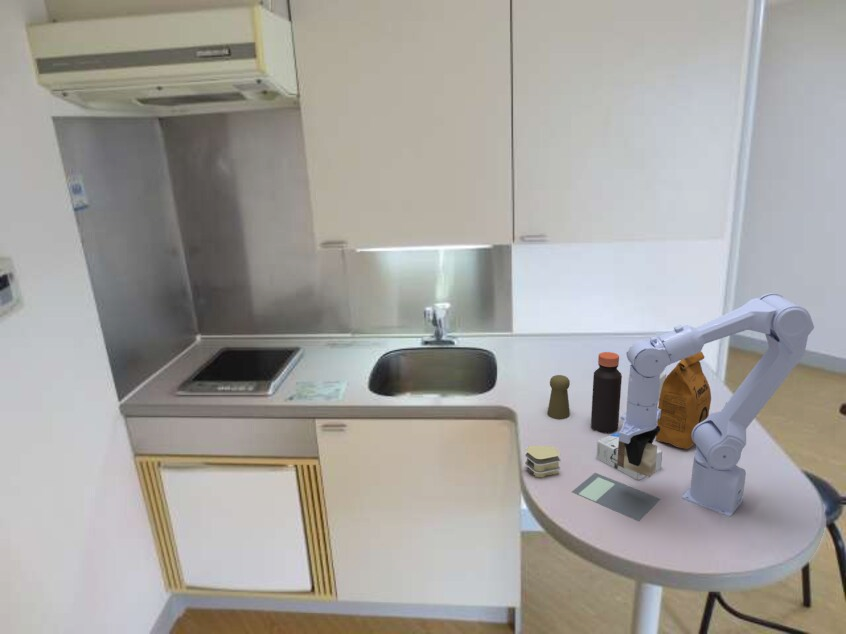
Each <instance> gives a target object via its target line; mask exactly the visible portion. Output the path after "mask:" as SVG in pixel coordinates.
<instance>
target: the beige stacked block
mask: <svg viewBox="0 0 846 634" xmlns="http://www.w3.org/2000/svg"><path fill="white" fill-rule="evenodd" d="M525 451H526V454H525V455H524V456H525V458H526V461H525V463H524V464H525V466H526V467H528V468H529V469H530V470H531V471H532V472H533V476H534V475H535V476H534V477H536V476H537V477H536V478H538V477H542V478H544V477H545V476H552V474H553V475H558V474H559V470H561V467H560V465H559V464H560V463H559V462H561V461H562V460H561V458H560V457H559V456H561V453H560V452H559V450H558V449H557V447H555V446H553V445H552V446H548V445H547V446H546V445H529V446H527V447H526V448H525Z"/></svg>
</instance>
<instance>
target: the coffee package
mask: <svg viewBox="0 0 846 634" xmlns="http://www.w3.org/2000/svg"><path fill="white" fill-rule="evenodd" d="M705 358H706V357H705V355H704V353H703V351H701V352H700V353H697V354H695V355H692V356H690V357H687V358H685V359H682V360H680V361H678V363H677V364H676V366H675V367H674V368H673V369H672V370H671V372H669V374H667V375H666V379H665V380H664V382H663V386H662V389H661V394H660V399H659V400H658V406H657V409H661V416H660V418H659V419H658V422H657V426H659V427H660V431H659V433H658V434H657V435H656V437H655V440H656V441H658V442H662V443H666V444H670V445H673V446H674V447H677V448H680V449H685V450H688V449H689V448H691V447H692V446H694V445H696V444H695V443H694V442H693V440H692V431H693V429H694V427H695V426H696V425H697V424H699V423H700V422H702V421H704V420H705V419H706V418H707V417H708V416H709V415H710V408H711V403H712V392H711V387H710V385H709V381H708V380H707V377H706V375H705V374H704V372H703V367H702V365H701V362H700V361H702V360H704V359H705Z"/></svg>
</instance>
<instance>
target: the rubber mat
mask: <svg viewBox="0 0 846 634" xmlns="http://www.w3.org/2000/svg"><path fill="white" fill-rule="evenodd" d="M571 493H573V494H575V495H577V496H580V497H582V498H584V499H586V500H589V501H592V502H593V503H596V504H598V505H601V506H603V507H605V508H607V509H609V510H612V511H614V512H616V513H619V514H621V515H623V516H625V517H628V518H630V519H633V520H634V521H637V522H640V521H641V520H642V519H643V518H644V517H645V516H646V515H647V514H648V513H649V512H650V511H651V510H652V509H653V508H654V507H655V506H656V505H657V503H659V501H661V498H660V497H657V496H655V495H652V494H650V493H647V492H645V491H642V490H639V489H637V488H636V487H633V486H629V485H628V484H625V483H622V482H620V481H617V480H614V479H612V478H609V477H607V476H605V475H602V474H599V473H597V472H594V473H592V474H591V475H590V476H589V477H588V478H587V479H585V480H584V481H583V482H581V484H579V485H578V486H577V487H575V488H574V489H573V490H572V491H571Z"/></svg>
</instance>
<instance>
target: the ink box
mask: <svg viewBox="0 0 846 634" xmlns="http://www.w3.org/2000/svg"><path fill="white" fill-rule="evenodd" d="M620 431H621V430H620ZM620 431H616V432H613V433H611V434H610V435H608V436H605V437H603V438H601V439H598V440H597V444H596V459H597V460H599V461H601V462H603V463H604V464H606V465H609V466H610V467H612V468H614V469H615V470H618V471H620V472H621V473H623V474H625V475H627V476H629V477H630V478H632V479H635V481H639V480H641V479H644V478H646V477H647V476H645V475H643V474H640V473H637V472H634V471H632V470H629V469H626V468H623V467H620V466H618V465H617V460H618V444H619V432H620ZM662 462H663V450H661V449H660V448H657V457H656V469H655V473H656V472H658V471H660V470H661V468H662Z"/></svg>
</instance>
